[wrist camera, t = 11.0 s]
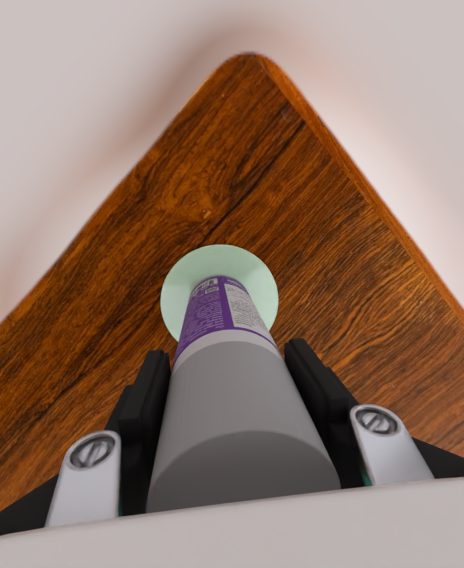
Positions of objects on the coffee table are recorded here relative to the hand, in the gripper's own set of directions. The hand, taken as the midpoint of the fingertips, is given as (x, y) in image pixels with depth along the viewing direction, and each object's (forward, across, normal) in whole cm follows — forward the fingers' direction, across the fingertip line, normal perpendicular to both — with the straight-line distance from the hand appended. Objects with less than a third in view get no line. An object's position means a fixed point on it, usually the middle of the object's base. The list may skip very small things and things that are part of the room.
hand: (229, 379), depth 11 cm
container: (+10, 0, 0) cm, 10 cm away
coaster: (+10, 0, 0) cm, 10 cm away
